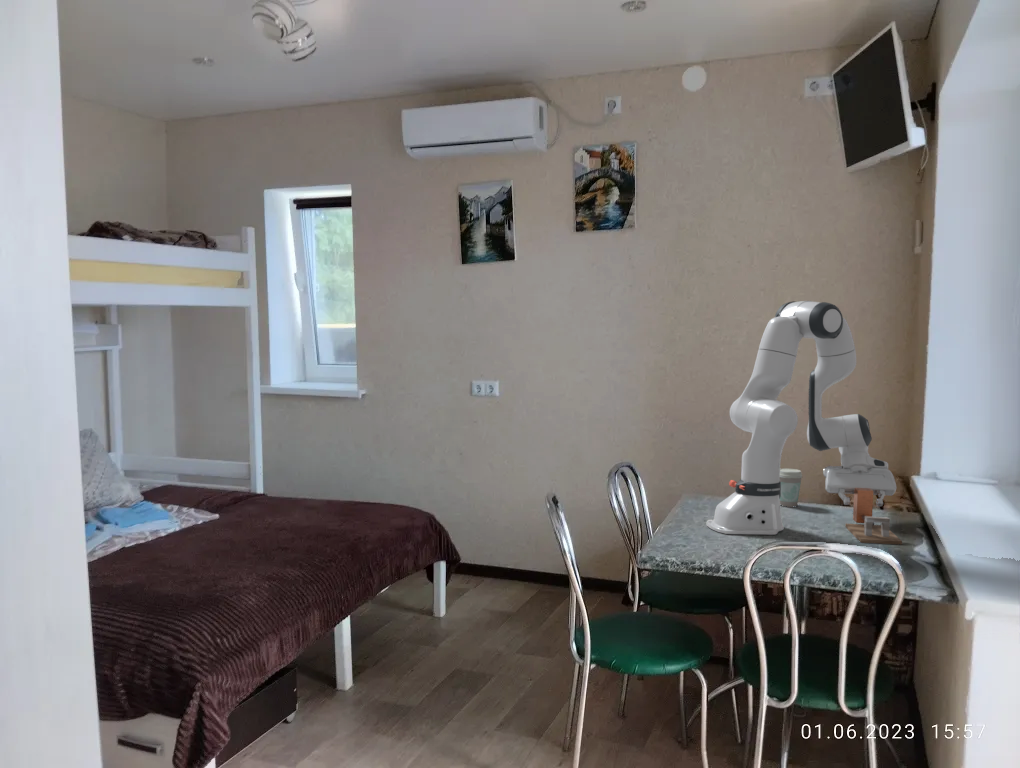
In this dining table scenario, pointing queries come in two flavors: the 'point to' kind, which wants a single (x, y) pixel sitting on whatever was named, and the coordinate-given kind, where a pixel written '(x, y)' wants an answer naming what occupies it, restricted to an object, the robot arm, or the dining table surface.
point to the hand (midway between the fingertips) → (863, 504)
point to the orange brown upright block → (862, 504)
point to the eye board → (874, 531)
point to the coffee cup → (790, 486)
